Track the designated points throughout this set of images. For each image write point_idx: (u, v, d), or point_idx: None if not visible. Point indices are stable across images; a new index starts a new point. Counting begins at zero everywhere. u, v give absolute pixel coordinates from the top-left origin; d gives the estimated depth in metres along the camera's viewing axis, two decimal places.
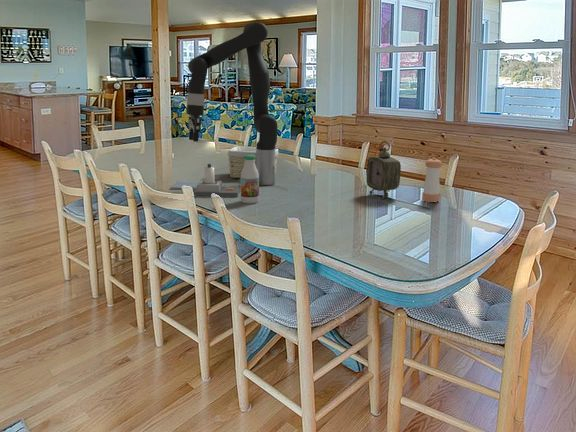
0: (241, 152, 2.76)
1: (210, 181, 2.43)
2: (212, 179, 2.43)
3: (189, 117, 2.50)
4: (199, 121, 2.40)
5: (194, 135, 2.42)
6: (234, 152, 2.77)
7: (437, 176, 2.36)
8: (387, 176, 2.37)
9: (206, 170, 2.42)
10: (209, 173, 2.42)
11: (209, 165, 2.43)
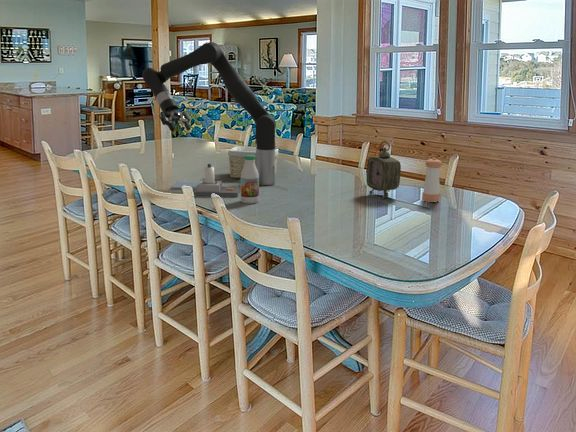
0: (241, 152, 2.76)
1: (210, 181, 2.43)
2: (212, 179, 2.43)
3: None
4: (160, 114, 2.51)
5: None
6: (234, 152, 2.77)
7: (437, 176, 2.36)
8: (387, 176, 2.37)
9: (206, 170, 2.42)
10: (209, 173, 2.42)
11: (209, 165, 2.43)
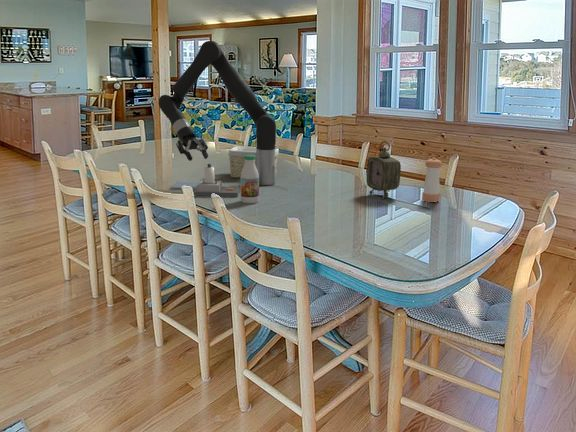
0: (241, 152, 2.76)
1: (210, 181, 2.43)
2: (212, 179, 2.43)
3: None
4: (178, 143, 2.46)
5: None
6: (235, 152, 2.77)
7: (437, 176, 2.36)
8: (387, 176, 2.37)
9: (206, 170, 2.42)
10: (209, 173, 2.42)
11: (209, 165, 2.43)
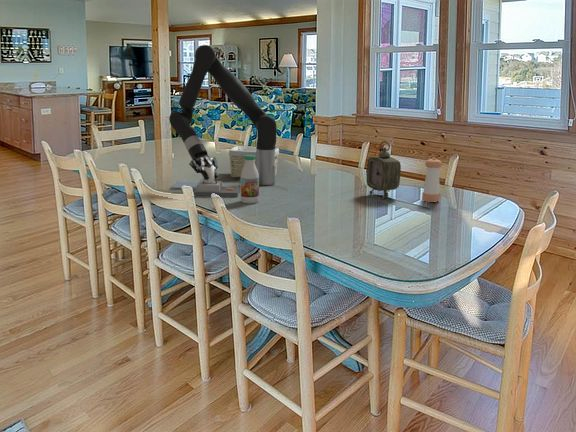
0: (242, 152, 2.77)
1: (210, 181, 2.43)
2: (212, 179, 2.43)
3: None
4: (192, 163, 2.41)
5: None
6: (235, 152, 2.78)
7: (437, 176, 2.36)
8: (387, 176, 2.37)
9: (206, 170, 2.42)
10: (209, 173, 2.42)
11: (209, 165, 2.43)
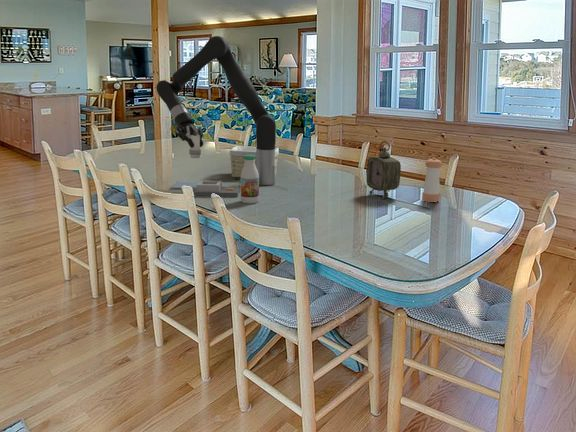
0: (243, 152, 2.77)
1: (195, 149, 2.48)
2: (197, 147, 2.48)
3: (197, 129, 2.56)
4: (178, 131, 2.46)
5: None
6: (236, 152, 2.78)
7: (437, 176, 2.36)
8: (387, 176, 2.37)
9: (191, 138, 2.47)
10: (194, 141, 2.47)
11: (194, 133, 2.47)
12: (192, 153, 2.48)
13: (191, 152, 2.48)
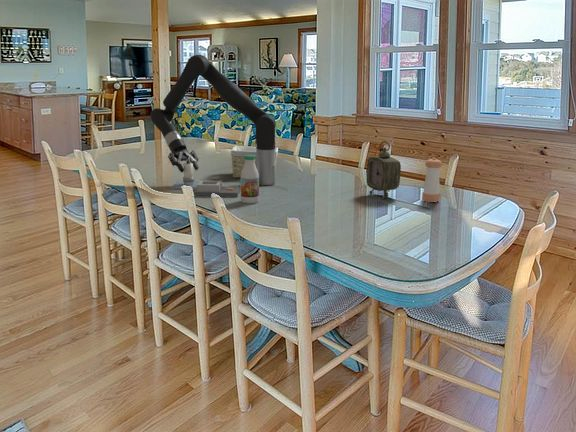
0: (245, 152, 2.77)
1: (189, 177, 2.57)
2: (191, 175, 2.57)
3: (190, 153, 2.65)
4: (170, 155, 2.55)
5: None
6: (237, 152, 2.77)
7: (437, 176, 2.36)
8: (387, 176, 2.37)
9: (185, 166, 2.56)
10: (188, 169, 2.56)
11: (188, 161, 2.56)
12: (186, 181, 2.57)
13: (185, 180, 2.57)
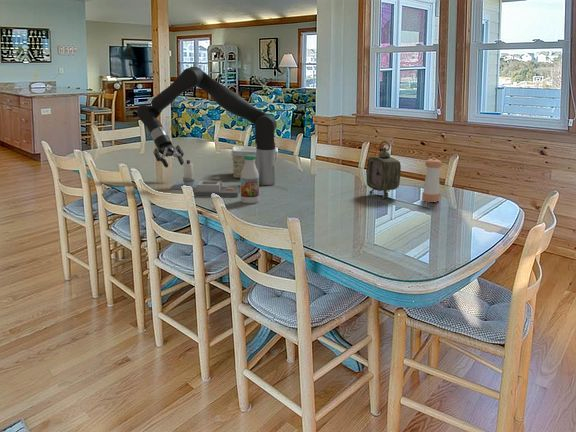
0: (246, 152, 2.77)
1: (189, 176, 2.57)
2: (191, 175, 2.57)
3: None
4: (155, 151, 2.64)
5: None
6: (238, 152, 2.77)
7: (437, 176, 2.36)
8: (387, 176, 2.37)
9: (185, 166, 2.56)
10: (188, 169, 2.56)
11: (188, 161, 2.57)
12: (186, 180, 2.57)
13: (185, 180, 2.57)
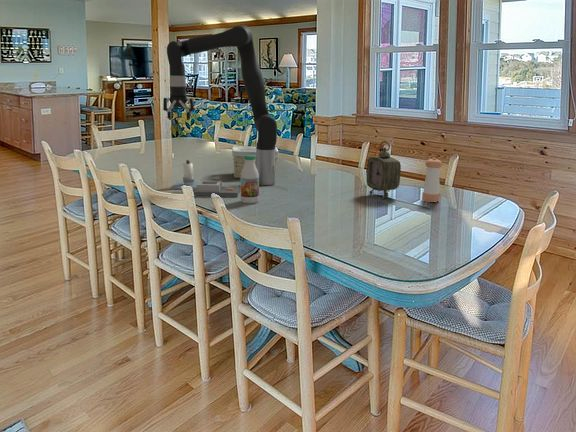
0: (247, 152, 2.77)
1: (188, 177, 2.57)
2: (190, 175, 2.57)
3: None
4: None
5: None
6: (239, 152, 2.77)
7: (437, 176, 2.36)
8: (387, 176, 2.37)
9: (185, 166, 2.56)
10: (187, 169, 2.56)
11: (188, 161, 2.56)
12: (185, 181, 2.57)
13: (184, 180, 2.57)
